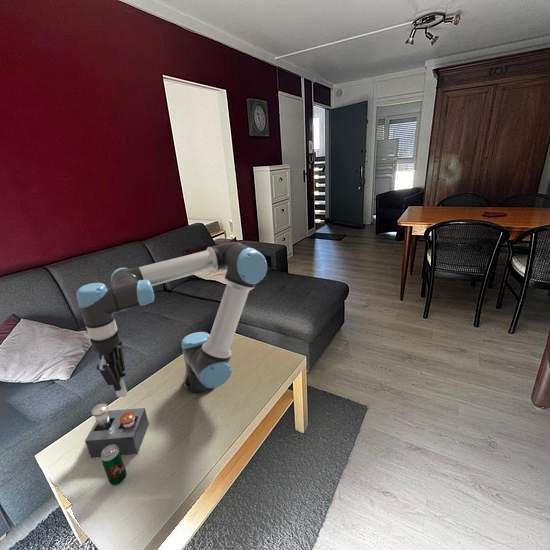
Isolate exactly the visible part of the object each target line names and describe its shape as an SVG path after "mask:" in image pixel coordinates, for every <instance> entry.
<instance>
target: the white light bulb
mask: <svg viewBox="0 0 550 550" xmlns="http://www.w3.org/2000/svg"><path fill="white" fill-rule="evenodd" d="M107 411H109V407H108V404H107V403H98V404H96V405H95V406H94V407H92V409H91V412H90V413H91V415H92V416H93V417H94V418H95V422H96V421H97V424H98V427H99V430H100V431H103V430H107V429H109V428H110V426H111V422H110V419H109V416H108V413H107Z"/></svg>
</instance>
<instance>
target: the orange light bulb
mask: <svg viewBox="0 0 550 550" xmlns="http://www.w3.org/2000/svg"><path fill="white" fill-rule="evenodd" d="M134 419H135V414H134V413H133V412H126V413H124V414H123V415H122V416H121V417H120V423H121V424H122V425H123V427H124V429H127V428H134V426H135V421H134Z"/></svg>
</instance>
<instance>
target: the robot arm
mask: <svg viewBox="0 0 550 550" xmlns="http://www.w3.org/2000/svg"><path fill="white" fill-rule="evenodd" d="M222 270H223V271H224V270H225V271H226V272H225V274H224V280H225V282H226V284H225V285H226V286H225V289H224V291H223V295H222V298H221V300H220V304H219V306H218V308H217V313H216V316H215V319H214V322H213V325H212V328H211V330H210V334H209V333H208V332H206V331H198V332H197V331H196V332H192V333H190V334H188V335H186V336H184V338H183V339H182V340H181V349H182V353H183V360H184V365H185V366H184V367H185V373H184V377H183V385H184V389H185V390H186V391H187V392H188V393H191V394H195V395H198V394H199V395H201V394H205V393H209V392H210V391H213V390H214V389H215V388H218V387H221V386H222V385H223V384H226V382H227V381H228V380H229V379H230V377H231V375H232V366H231V365H230V364H229V363H230V361H231V360H230V359H231V357H232V351H231V349H230V348H231V346H232V342H233V339H234V336H235V333H236V330H237V328H238V325H239V322H240V318H241V316H242V313H243V311H244V307H245V304H246V301H247V299H248V296H249V293H250V291H251V290H253V289H255V287H256V284H259V283H260V282H261V281H263V279H264V278H265V277H266V274H267V271H268V263H267V260H266V257H265V256H264V255H263V253H261V252H260V251H259V250H257V249H255V248H253V247H251V246H248V245H245V243H242V242H241V243H240V242H237V241H231V242H226V243H220V244H216V245H212V246H208V247H207V248H206V250H202V251H199V252H195V253H192V254H191V253H190V254H188V255H183V256H179V257H176V258H175V257H174V258H170V259H166V260H162V261H158V262H155V263H150V264H147V265H142V266H139V267H134V268H127V267H119V268H117V269H115V270H114V271H113V272H112V274H111V277H110V282H111V287H108V288H107V285H106V284H105V283H103V282H92V283H88V284H85V285H83V286H80V287H79V288H78V289H77V290H76V293H75V294H76V295H75V296H76V299H77V303H78V308H79V310H80V313H81V316H82V319H83V322H84V325H85V329H86V331H87V333H88V337H89V340H90V341H89V342H90V344H91V346H92V347H91V348H92V349H93V350H94V351H95V352H97V353H98V356H99V359H98V360H100V363H99V364H98V365H96V370H98V371H99V372H100V374H101V376H102V378H103V379H104V381H105V383H106V384H107V385H108V386H113V388H114V391H115V395H116V397H117V398H122V397H127V395H128V391H127V387H126V383H125V380H124V377H126V376H127V375H126V374H127V373H126V372H125V371H126V367H125V361H124V359H125V358H124V352H123V341H121V337H120V333H119V330H118V326H117V322H116V319H115V314H116V313H117V314H118V313H120V312H125V311H127V310H130V309H135V308H138V307H139V308H140V307H143V306H145V305H148V304H151V303H153V302H154V301H155V293H154V290H153V289H154V288H153V287H154V286H157V285H160V284H164V283H169V282H171V281H175V280H179V279H182V278H186V277H189V276H193V275H197V274H201V273H204V272H207V271H212V272H216V271H217V272H218V271H222Z"/></svg>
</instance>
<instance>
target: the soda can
mask: <svg viewBox="0 0 550 550" xmlns="http://www.w3.org/2000/svg"><path fill="white" fill-rule="evenodd" d="M100 461H101V463H102V466H103V467H102V468H103V469H104V472H105V475H106V478H107V481H108V483H109V485H111V486H117V485H119V484H121V483H123V482H124V480H125V479H126V477H127V475H128V472H127V468H126V466H125V462H124V459H123V456H122V455H121V452H120V449H119V447H118V446H116V445H115V444H111V445H108V446H107V447H105V448H104V449H103V450H102V452H101V457H100Z"/></svg>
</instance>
